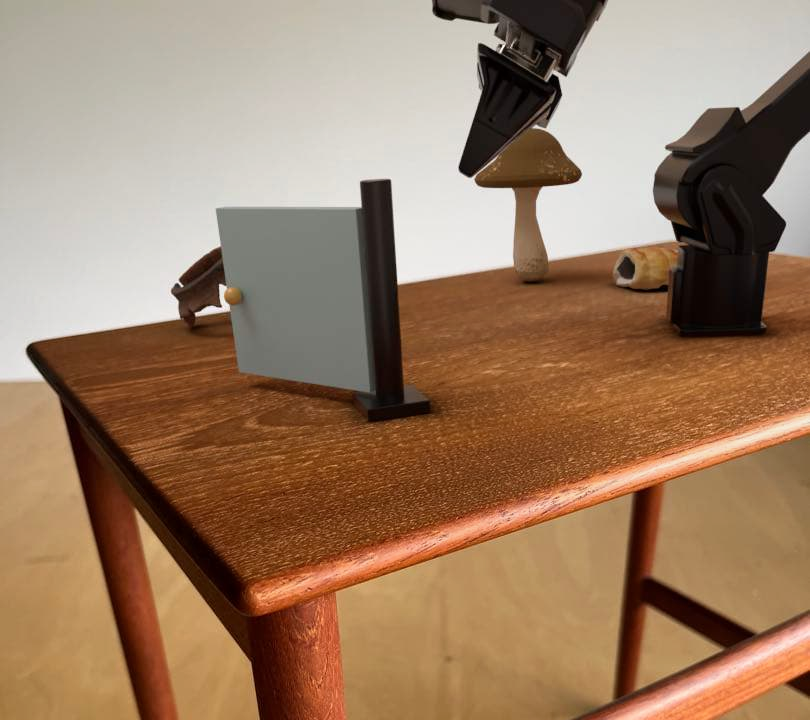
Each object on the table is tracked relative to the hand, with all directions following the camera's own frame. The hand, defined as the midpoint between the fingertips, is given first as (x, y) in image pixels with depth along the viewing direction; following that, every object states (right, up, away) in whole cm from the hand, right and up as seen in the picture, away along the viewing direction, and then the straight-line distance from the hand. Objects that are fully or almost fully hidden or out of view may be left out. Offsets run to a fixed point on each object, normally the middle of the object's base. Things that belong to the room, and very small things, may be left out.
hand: (463, 174), depth 63 cm
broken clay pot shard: (-20, -6, +21) cm, 29 cm away
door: (-11, -15, -3) cm, 19 cm away
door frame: (-5, -18, -7) cm, 20 cm away
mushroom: (+9, +2, +32) cm, 34 cm away
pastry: (+21, -1, +26) cm, 34 cm away
